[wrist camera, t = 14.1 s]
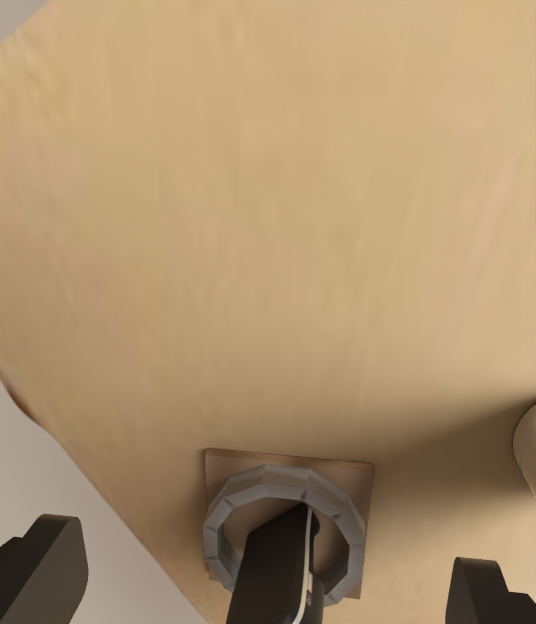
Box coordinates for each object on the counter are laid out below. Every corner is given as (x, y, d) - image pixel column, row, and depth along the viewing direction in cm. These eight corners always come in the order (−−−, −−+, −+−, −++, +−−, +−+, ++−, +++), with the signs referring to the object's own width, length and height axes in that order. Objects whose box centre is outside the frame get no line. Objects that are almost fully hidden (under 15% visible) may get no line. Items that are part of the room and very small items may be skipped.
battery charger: (271, 560, 46) (250, 691, 36) (244, 532, 45) (214, 657, 35) (333, 527, 44) (330, 656, 33) (305, 497, 43) (293, 619, 33)
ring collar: (372, 463, 42) (374, 492, 39) (359, 589, 47) (360, 624, 44) (207, 447, 44) (197, 473, 41) (211, 570, 49) (202, 602, 46)
